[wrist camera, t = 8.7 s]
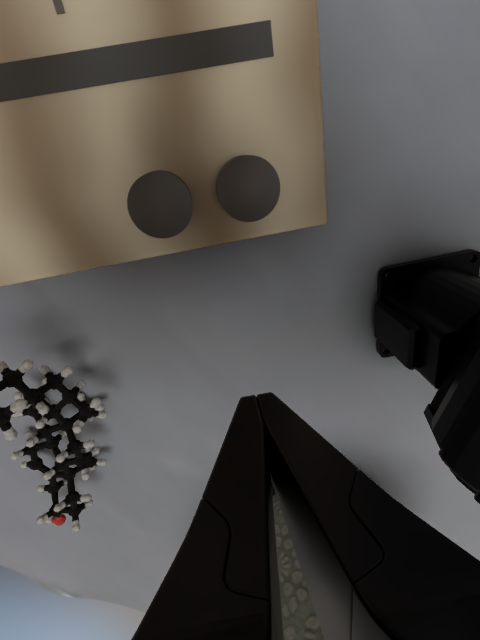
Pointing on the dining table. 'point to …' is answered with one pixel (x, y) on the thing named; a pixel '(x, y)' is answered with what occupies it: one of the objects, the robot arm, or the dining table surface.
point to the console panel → (154, 128)
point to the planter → (293, 587)
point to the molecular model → (41, 406)
